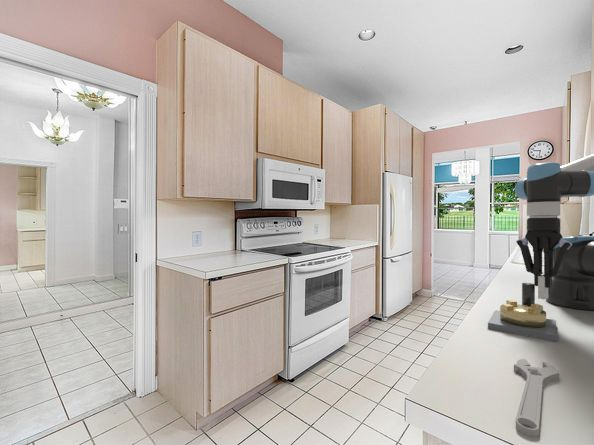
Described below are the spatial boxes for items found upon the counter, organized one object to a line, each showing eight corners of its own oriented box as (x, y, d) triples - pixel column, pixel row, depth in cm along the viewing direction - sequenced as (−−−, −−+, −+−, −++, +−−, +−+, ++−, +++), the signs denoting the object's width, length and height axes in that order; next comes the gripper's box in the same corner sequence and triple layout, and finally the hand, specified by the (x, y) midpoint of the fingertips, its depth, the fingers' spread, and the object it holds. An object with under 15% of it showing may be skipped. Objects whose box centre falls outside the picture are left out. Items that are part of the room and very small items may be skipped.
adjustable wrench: (538, 444, 40) (539, 431, 40) (484, 421, 45) (484, 409, 45) (560, 374, 57) (560, 365, 57) (519, 362, 62) (519, 354, 62)
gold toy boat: (544, 330, 74) (544, 297, 74) (496, 320, 81) (496, 290, 81) (550, 313, 86) (550, 285, 86) (508, 306, 93) (509, 280, 93)
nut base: (494, 310, 95) (494, 305, 95) (555, 320, 86) (555, 315, 86) (483, 327, 81) (483, 321, 81) (556, 342, 71) (556, 335, 71)
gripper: (577, 216, 82) (577, 301, 83) (523, 217, 94) (523, 291, 94) (566, 216, 79) (566, 305, 79) (511, 217, 90) (511, 295, 90)
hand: (543, 298), depth 86 cm, fingers closed
